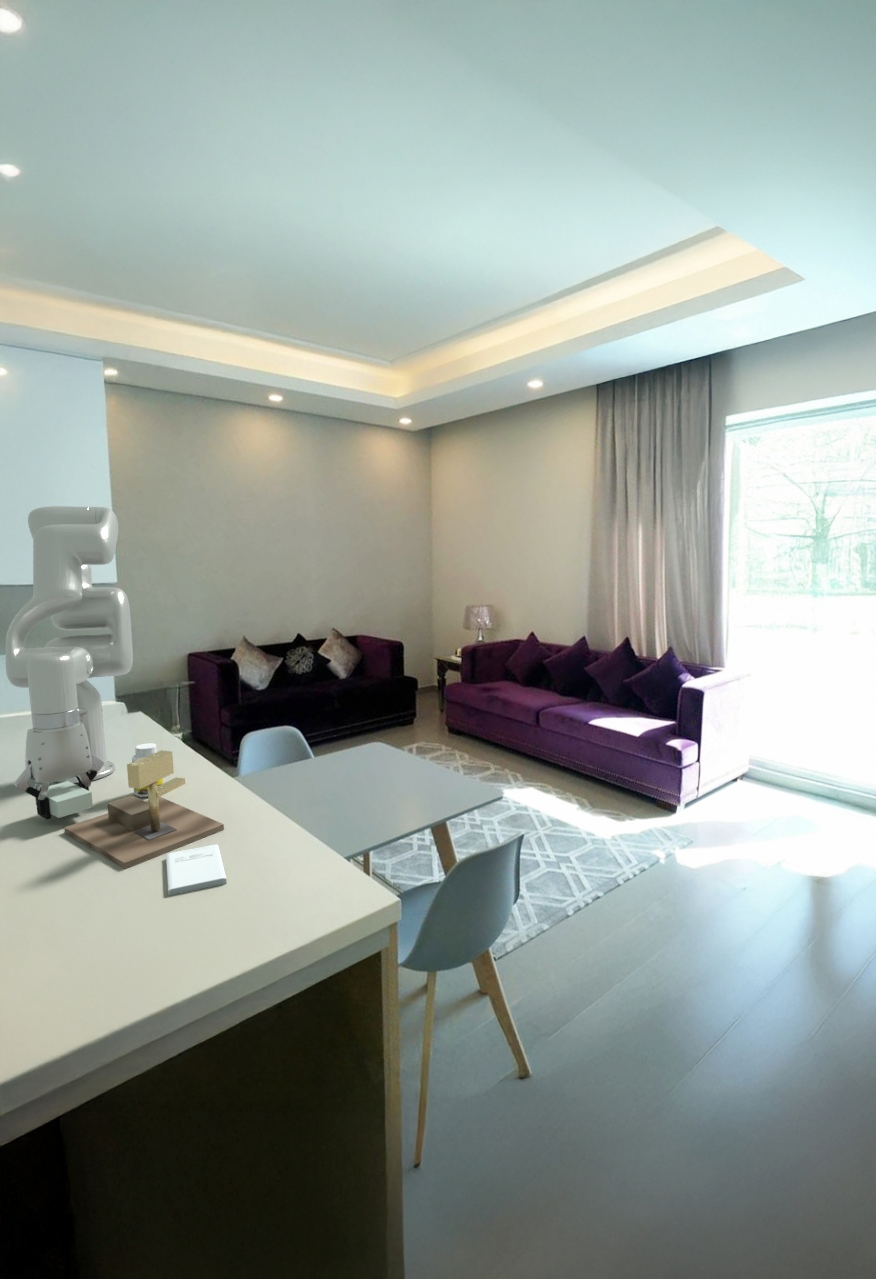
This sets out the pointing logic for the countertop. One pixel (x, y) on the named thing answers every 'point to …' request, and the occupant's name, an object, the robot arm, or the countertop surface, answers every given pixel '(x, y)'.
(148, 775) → the key
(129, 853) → the base
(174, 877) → the external hard drive
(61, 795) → the mint green block
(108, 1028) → the countertop surface
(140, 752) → the supplement bottle
